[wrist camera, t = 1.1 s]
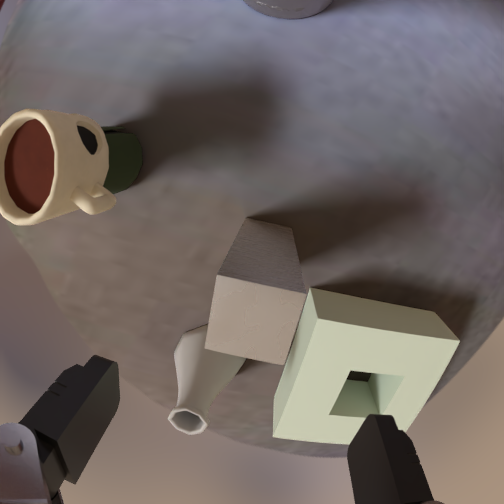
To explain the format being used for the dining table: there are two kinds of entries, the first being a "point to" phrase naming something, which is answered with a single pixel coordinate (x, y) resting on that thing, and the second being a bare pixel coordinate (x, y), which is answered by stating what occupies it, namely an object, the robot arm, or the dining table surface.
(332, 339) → the well block
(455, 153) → the dining table surface
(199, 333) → the flask
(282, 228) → the rectangular block
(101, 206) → the character mug
